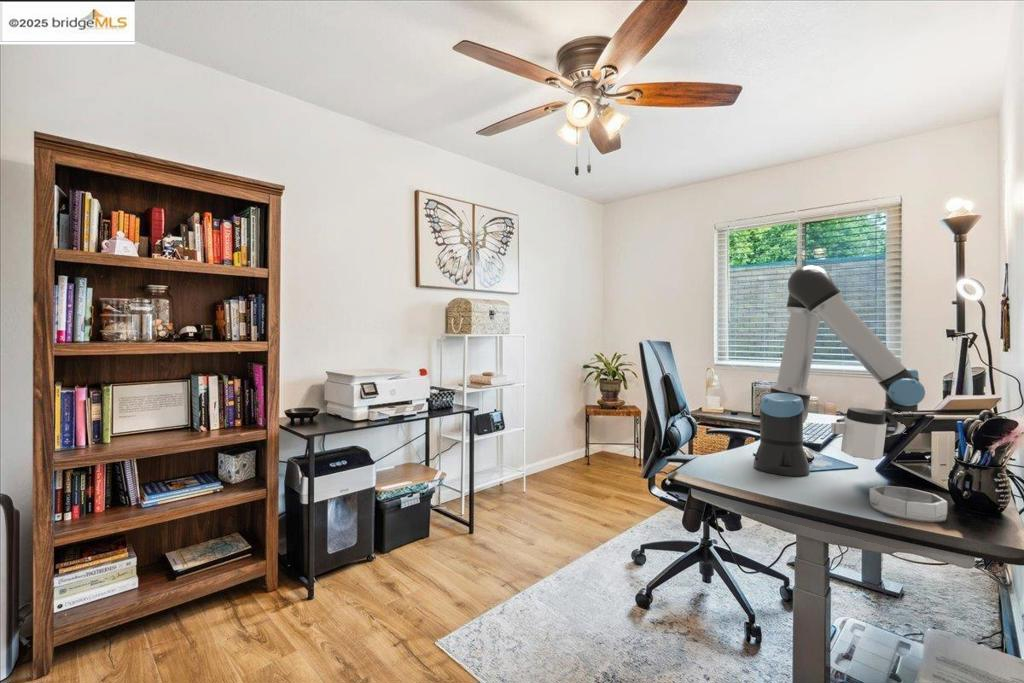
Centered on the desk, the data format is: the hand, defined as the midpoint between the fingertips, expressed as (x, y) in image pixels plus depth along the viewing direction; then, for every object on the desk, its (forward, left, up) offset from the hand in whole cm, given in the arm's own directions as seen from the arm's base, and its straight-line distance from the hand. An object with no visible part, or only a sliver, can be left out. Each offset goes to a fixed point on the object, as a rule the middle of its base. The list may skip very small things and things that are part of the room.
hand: (834, 428), depth 125 cm
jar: (+3, +6, -7) cm, 10 cm away
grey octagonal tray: (+16, +1, -17) cm, 23 cm away
